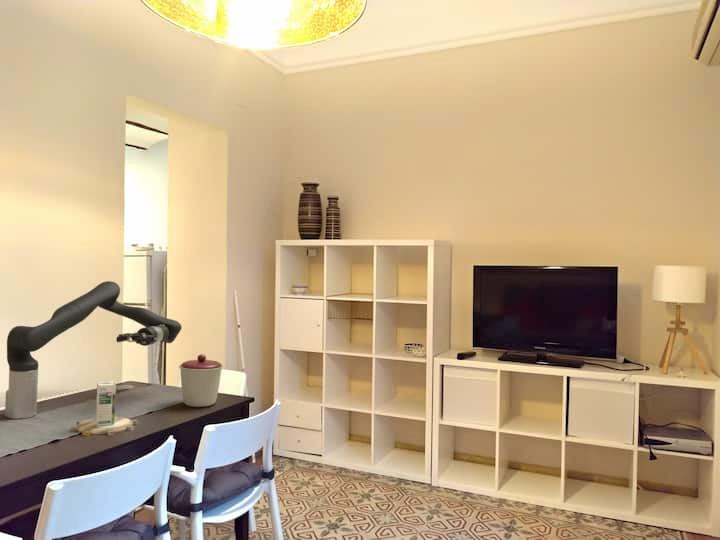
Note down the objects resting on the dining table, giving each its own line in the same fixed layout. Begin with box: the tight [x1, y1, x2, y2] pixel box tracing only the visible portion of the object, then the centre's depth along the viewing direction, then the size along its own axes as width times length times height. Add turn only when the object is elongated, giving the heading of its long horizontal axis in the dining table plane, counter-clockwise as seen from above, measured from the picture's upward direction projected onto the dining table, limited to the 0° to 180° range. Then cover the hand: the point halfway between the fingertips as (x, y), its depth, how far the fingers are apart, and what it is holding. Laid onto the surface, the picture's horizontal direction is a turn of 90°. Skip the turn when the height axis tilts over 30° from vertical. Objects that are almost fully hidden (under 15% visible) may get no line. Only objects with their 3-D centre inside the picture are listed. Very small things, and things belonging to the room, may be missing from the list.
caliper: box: [116, 384, 135, 390], centre depth 248 cm, size 20×1×6 cm, turn 170°
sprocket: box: [70, 415, 139, 437], centre depth 197 cm, size 22×22×1 cm
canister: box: [178, 354, 224, 408], centre depth 233 cm, size 18×18×21 cm
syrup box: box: [95, 381, 117, 426], centre depth 196 cm, size 6×6×14 cm
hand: (127, 340), depth 217 cm, fingers open, 8 cm apart
